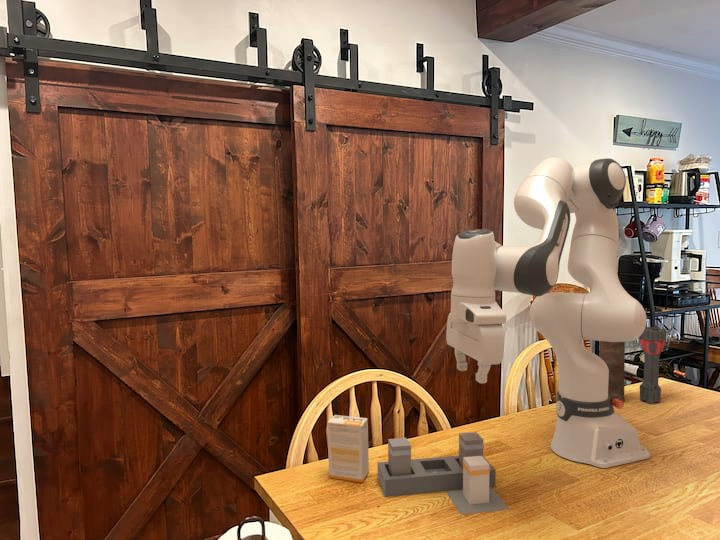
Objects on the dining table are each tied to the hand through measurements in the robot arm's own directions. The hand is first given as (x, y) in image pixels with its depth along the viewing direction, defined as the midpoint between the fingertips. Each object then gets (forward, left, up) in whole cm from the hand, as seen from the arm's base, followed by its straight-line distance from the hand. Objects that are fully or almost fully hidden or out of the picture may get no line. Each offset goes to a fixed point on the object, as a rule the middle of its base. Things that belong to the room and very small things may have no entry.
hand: (471, 376), depth 108 cm
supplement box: (+24, -12, -25) cm, 37 cm away
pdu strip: (+6, -5, -25) cm, 26 cm away
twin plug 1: (+14, -5, -23) cm, 27 cm away
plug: (0, +3, -25) cm, 25 cm away
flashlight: (-76, -44, -25) cm, 91 cm away
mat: (0, +3, -25) cm, 25 cm away
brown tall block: (-64, -46, -25) cm, 83 cm away
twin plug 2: (-2, -5, -23) cm, 24 cm away
